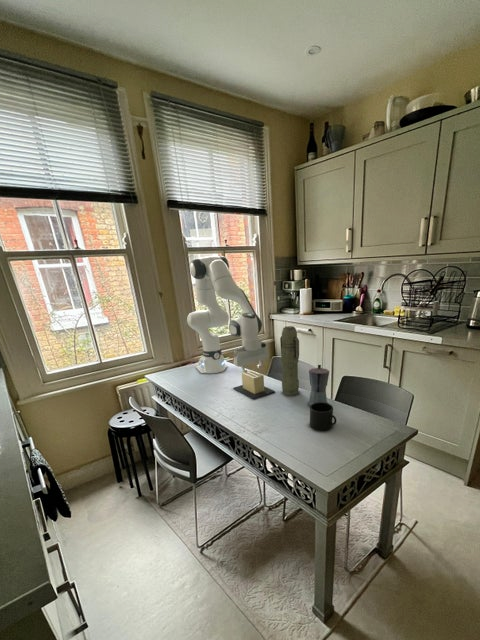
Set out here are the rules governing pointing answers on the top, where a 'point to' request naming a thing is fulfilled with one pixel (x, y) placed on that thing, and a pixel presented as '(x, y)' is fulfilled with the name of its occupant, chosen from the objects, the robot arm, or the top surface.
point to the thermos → (290, 360)
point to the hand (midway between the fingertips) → (252, 370)
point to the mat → (252, 395)
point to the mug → (321, 416)
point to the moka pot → (318, 384)
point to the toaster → (253, 382)
